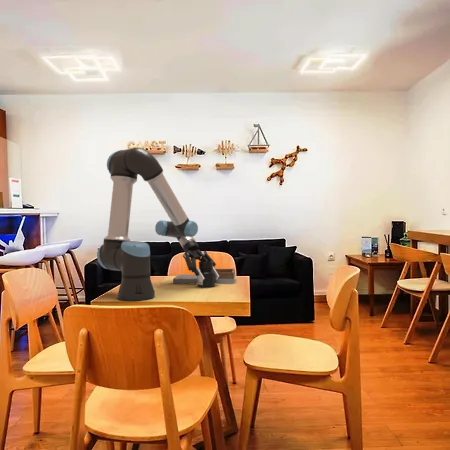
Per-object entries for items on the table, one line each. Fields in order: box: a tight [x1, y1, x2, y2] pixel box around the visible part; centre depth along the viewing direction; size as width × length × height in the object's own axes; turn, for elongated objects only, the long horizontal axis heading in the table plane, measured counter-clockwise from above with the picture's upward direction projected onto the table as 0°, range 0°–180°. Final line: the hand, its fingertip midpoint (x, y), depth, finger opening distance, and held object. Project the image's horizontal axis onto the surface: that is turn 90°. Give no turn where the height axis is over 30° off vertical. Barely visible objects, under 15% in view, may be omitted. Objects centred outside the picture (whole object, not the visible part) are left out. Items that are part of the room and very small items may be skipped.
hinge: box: [172, 273, 236, 285], centre depth 203 cm, size 18×31×3 cm, turn 86°
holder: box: [215, 268, 236, 279], centre depth 202 cm, size 16×14×3 cm
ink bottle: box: [196, 260, 216, 288], centre depth 187 cm, size 10×9×12 cm
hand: (210, 279), depth 185 cm, fingers closed on ink bottle, 9 cm apart
